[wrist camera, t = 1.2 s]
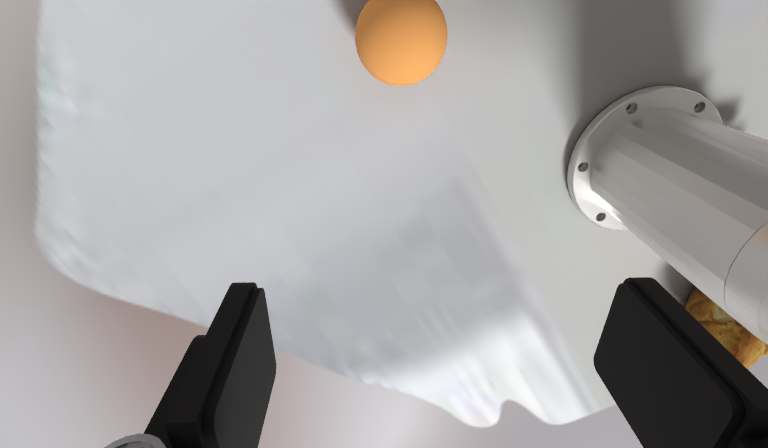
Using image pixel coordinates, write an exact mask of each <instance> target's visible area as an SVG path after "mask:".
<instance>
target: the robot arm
mask: <svg viewBox="0 0 768 448" xmlns="http://www.w3.org/2000/svg"><path fill="white" fill-rule="evenodd" d="M579 164H580V165H579ZM567 182H568V190H569V193H570V196H571V199H572V201H573V203H574V204H575V206H576V207H577V209H578V210H579V211H580V212H581V213H582V214H583V215H584V216H585V217H586V218H587V219H588V220H590V221H591V222H593V223H594V224H596V225H598V226H601V227H604V228H606V229H612V230H618V231H624V230H630V231H631V232H632V233H633V234H635V235H636V236H637V237H638V238H639V239H640V240H642V241H643V242H644V243H645V244H646V245H648V246H649V247H650V248H651V249H652V250H653V251H655V252H656V253H657V254H658V255H659V256H660V257H662V258H663V259H664V260H665V261H666V262H668V263H669V264H670V265H671V266H672V267H673V268H675V269H676V270H677V271H678V272H679V273H681V274H682V275H683V276H684V277H685V278H686V279H688V280H689V281H690V282H691V283H692V284H693V285H695V286H696V287H697V288H698V289H699V290H701V291H702V292H703V293H704V294H705V295H706V296H708V297H709V298H710V299H711V300H712V301H713V302H715V303H716V304H717V305H718V306H719V307H721V308H722V309H723V310H724V311H725V312H726V313H728V314H729V315H730V316H731V317H732V318H734V319H735V320H736V321H738V322H739V323H740V324H741V325H742V326H744V327H745V328H746V329H747V330H748V331H750V332H751V333H752V334H753V335H754V336H756V337H757V338H758V339H760V340H761V341H763V342H764V343H766V344H767V345H768V140H766V139H763V138H760V137H757V136H754V135H751V134H748V133H745V132H742V131H740V130H737V129H734V128H731V127H728V126H725V125H723V122H722V119H721V117H720V114H719V112H718V110H717V108H716V107H715V106H714V105H713V104H712V102H711V101H710V100H709V99H707V98H706V97H704V96H703V95H701V94H700V93H698V92H695V91H692V90H689V89H686V88H681V87H676V86H654V87H649V88H644V89H640V90H638V91H635V92H633V93H630V94H628V95H626V96H624V97H622V98H620V99H619V100H617V101H615V102H614V103H612V104H611V105H609V106H608V107H607V108H606V109H604V110H603V111H602V112H601V113H599V114H598V115H597V116H596V118H595V119H594V120H593V121H592V122H591V123H590V124H589V125H588V126H587V128H586V129H585V130H584V132H583V133H582V135H581V136H580V138H579V139H578V141H577V143H576V146H575V148H574V150H573V152H572V155H571V158H570V162H569V165H568V175H567ZM594 366H595V369H596V371H597V373H598V374H599V376H600V378H601V379H602V381H603V382H604V384H605V386H606V387H607V389H608V391H609V392H610V394H611V396H612V397H613V399H614V400H615V402H616V404H617V405H618V407H619V408H620V410H621V412H622V413H623V415H624V416H625V418H626V420H627V421H628V423H629V425H630V426H631V428H632V430H633V431H634V433H635V435H636V436H637V438H638V439H639V441H640V443H641V444H642V446H643V448H768V389H767V388H766V387H765V386H764V385H763V384H762V383H761V382H760V381H759V380H758V379H757V378H756V377H755V376H754V375H753V374H751V372H750V371H749V370H748V369H746V368H745V367H744V366H743V365H742V364H741V363H740V362H739V361H738V360H737V359H736V358H735V357H734V356H733V355H732V354H731V353H730V352H729V351H728V350H727V349H726V348H725V347H724V346H723V345H722V344H721V343H720V342H719V341H718V340H717V339H716V338H715V337H714V336H713V335H712V334H711V333H709V332H708V331H707V330H706V329H705V328H704V327H703V326H702V325H701V324H700V323H699V322H698V321H697V320H696V319H695V318H694V317H693V316H692V315H691V314H690V313H689V312H688V311H687V310H686V309H685V308H684V307H683V306H682V305H681V304H680V303H679V302H678V301H677V300H676V299H675V298H673V297H672V296H671V295H670V294H669V293H668V292H667V291H666V290H665V289H664V288H663V287H662V286H661V285H660V284H659V283H658V282H657V281H656V280H655V279H653V278H627V279H626V280H625V281H624V283H622V284H620V285H619V286H618V288H617V290H616V293H615V296H614V299H613V302H612V305H611V308H610V311H609V314H608V317H607V320H606V323H605V326H604V329H603V331H602V334H601V337H600V340H599V343H598V346H597V349H596V352H595V355H594ZM275 374H276V360H275V354H274V347H273V341H272V335H271V329H270V323H269V317H268V310H267V304H266V298H265V292H264V289H263V288H257V285H256V283H232V284H231V285H230V287H229V289H228V291H227V293H226V295H225V297H224V299H223V301H222V303H221V305H220V307H219V310H218V312H217V314H216V316H215V318H214V320H213V322H212V324H211V326H210V328H209V330H208V332H207V334H206V335H198V336H196V337H195V338H194V339H193V341H192V342H191V344H190V346H189V348H188V350H187V351H186V353H185V355H184V357H183V359H182V361H181V363H180V365H179V367H178V369H177V371H176V372H175V374H174V376H173V378H172V380H171V382H170V384H169V386H168V388H167V390H166V392H165V394H164V396H163V397H162V399H161V401H160V403H159V405H158V407H157V409H156V411H155V413H154V415H153V417H152V418H151V420H150V423H149V424H148V426H147V428H146V430H145V432H144V434H135V435H131V436H126V437H124V438H122V439H119V440H117V441H115V442H112V443H111V444H110V445H108V446H106V447H105V448H257V447H258V443H259V439H260V435H261V431H262V427H263V423H264V419H265V415H266V411H267V407H268V403H269V399H270V395H271V391H272V387H273V383H274V379H275Z"/></svg>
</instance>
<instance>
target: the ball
mask: <svg viewBox="0 0 768 448" xmlns="http://www.w3.org/2000/svg"><path fill="white" fill-rule="evenodd" d="M355 42H356V48H357V52H358V55H359V58H360V60H361V62H362V63H363V65H364V66H365V68H366V69H367V70H368V71H369V73H370V74H372V75H373V76H374V77H375V78H377V79H378V80H380V81H382V82H384V83H386V84H389V85H394V86H407V85H411V84H414V83H417V82H419V81H421V80H423V79H425V78H426V77H427V76H429V75H430V74H431V73H432V72H433V71H434V70H435V69H436V67H437V66H438V64H439V63H440V61H441V59H442V57H443V55H444V52H445V48H446V44H447V25H446V21H445V17H444V15H443V12H442V10H441V8H440V6H439V5H438V4H437V2H436V1H435V0H368V2H367V3H366V4H365V6H364V7H363V9H362V11H361V13H360V15H359V17H358V21H357V24H356V30H355Z"/></svg>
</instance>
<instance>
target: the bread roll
mask: <svg viewBox="0 0 768 448" xmlns="http://www.w3.org/2000/svg"><path fill="white" fill-rule="evenodd" d="M685 309H686V310H687V311H688V312H689V313H690V314H691V315H692V316H693V317H694V318H695V319H696V320H697V321H698V322H699V323H700V324H701V325H702V326H703V327H704V328H705V329H706V330H707V331H708V332H709V333H711V334H712V335H713V336H714V337H715V338H716V339H717V340H718V341H719V342H720V343H721V344H722V345H723V346H724V347H725V348H726V349H727V350H728V351H729V352H730V353H731V354H732V355H733V356H734V357H735V358H736V359H737V360H738V361H739V362H740V363H741V364H742V365H743V366H744V367H745V368H746V369H748V368H749V367H750V366H751V365H753V364H754V363H755V362H756V361H758V360H759V358H760V357H761V356H762V355H768V345H767V344H766V343H764V342H763V341H761V340H760V339H758V338H757V337H756V336H754V335H753V334H752V333H751V332H750V331H748V330H747V329H746V328H745V327H744V326H742V325H741V324H740V323H739V322H738V321H736V320H735V319H734V318H732V317H731V316H730V315H729V314H728V313H726V312H725V311H724V310H723V309H722V308H721V307H719V306H718V305H717V304H716V303H715V302H713V301H712V300H711V299H710V298H709V297H708V296H706V295H705V294H704V293H703V292H702V291H701V290H699V289H698V288H697V287H695V288H694V290H693V291H692V292H691V293H690V296H689V298H688V301H687V303H686V305H685Z"/></svg>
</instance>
